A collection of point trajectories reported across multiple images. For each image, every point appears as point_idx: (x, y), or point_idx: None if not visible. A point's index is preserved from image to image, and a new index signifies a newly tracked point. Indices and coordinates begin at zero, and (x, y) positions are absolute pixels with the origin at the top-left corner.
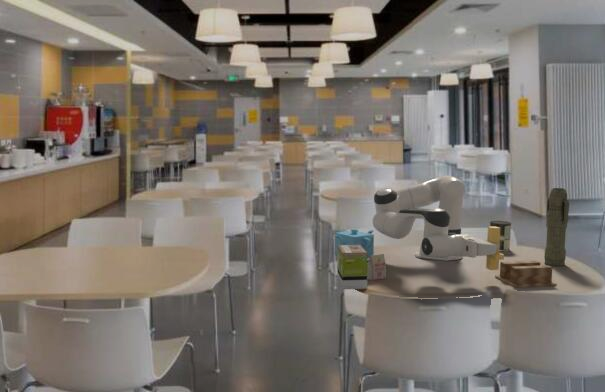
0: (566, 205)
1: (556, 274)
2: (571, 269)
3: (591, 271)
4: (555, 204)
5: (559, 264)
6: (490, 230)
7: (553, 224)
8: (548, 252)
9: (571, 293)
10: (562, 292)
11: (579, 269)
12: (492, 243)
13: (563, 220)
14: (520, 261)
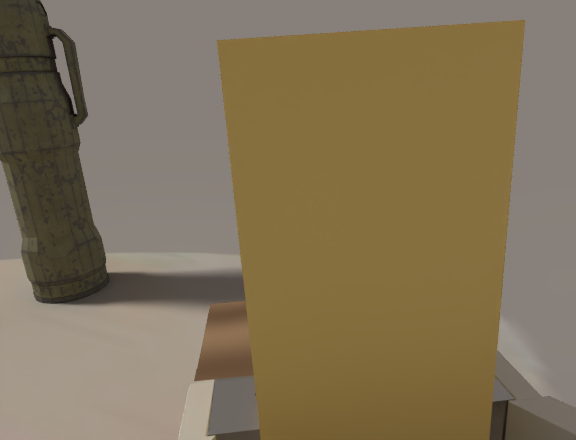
0: (73, 48)
1: (203, 313)
2: (157, 274)
3: (199, 253)
4: (26, 47)
5: (104, 278)
6: (410, 134)
7: (46, 137)
8: (57, 254)
9: (526, 349)
10: (524, 371)
11: (167, 263)
12: (474, 431)
13: (73, 114)
14: (206, 360)
